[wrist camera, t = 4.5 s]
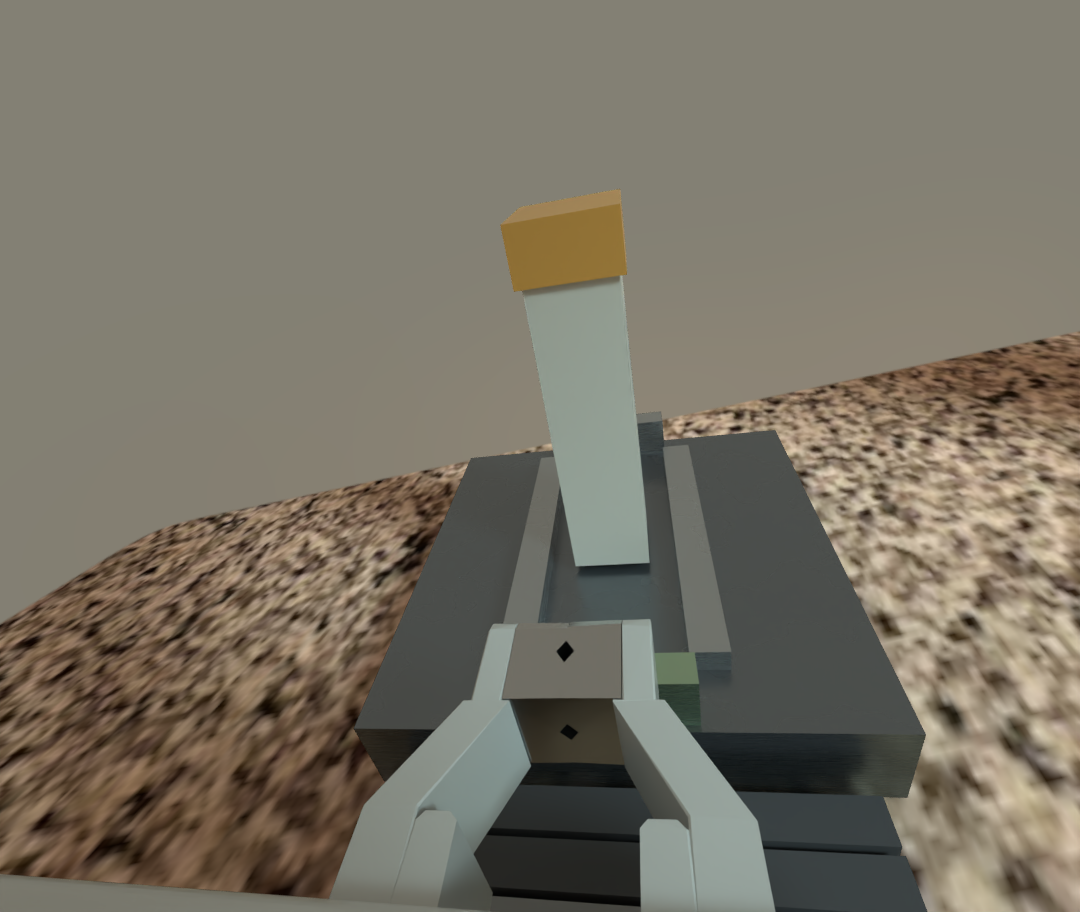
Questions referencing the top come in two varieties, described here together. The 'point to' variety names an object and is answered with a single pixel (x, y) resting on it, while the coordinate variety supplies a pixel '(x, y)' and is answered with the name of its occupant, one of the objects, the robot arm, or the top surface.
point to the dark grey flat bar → (618, 813)
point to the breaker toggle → (584, 367)
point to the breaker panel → (666, 619)
